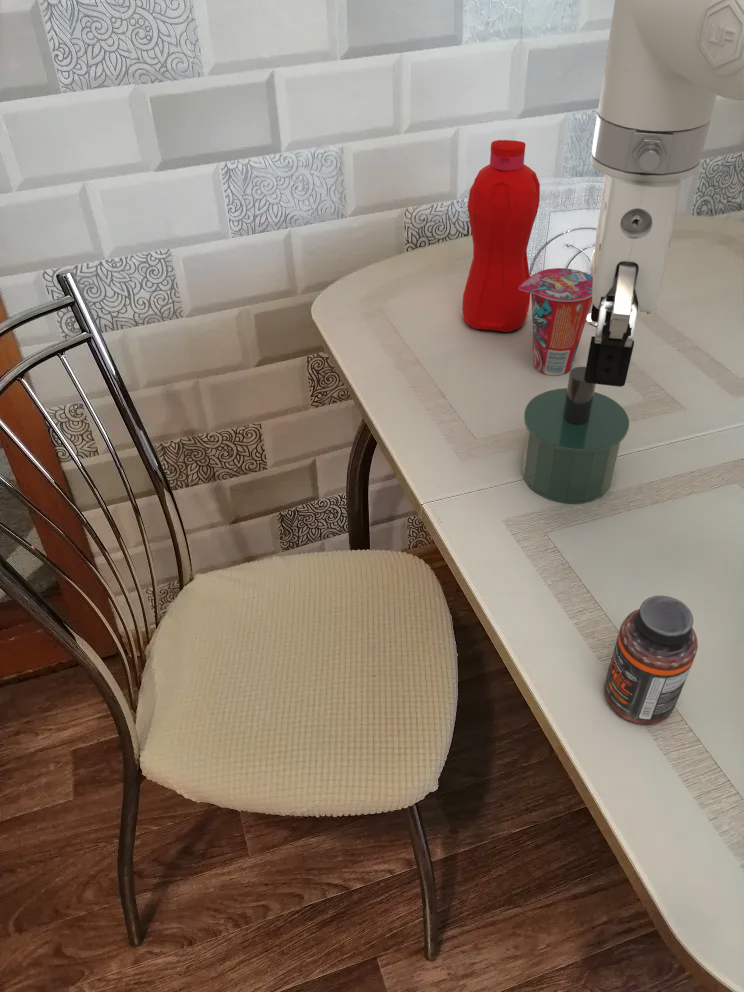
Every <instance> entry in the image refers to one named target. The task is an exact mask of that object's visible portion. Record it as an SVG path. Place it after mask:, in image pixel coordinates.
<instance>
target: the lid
mask: <svg viewBox="0 0 744 992" xmlns="http://www.w3.org/2000/svg"><path fill="white" fill-rule="evenodd" d="M585 370H586V366H575V367H572V368H571V370H570V371H569V372H568V373H569V374H568V380H567V387H563V388H556V389H551V390H547V391H544V392H542V393H539V394H538V395H536V396H534V397H533V398H531V399H530V400H529V402H528V403H527V404H526V406H525V409H524V412H523V422H524V425H525V429H526V428H527V429H528V431H529V432H530V433H531V434H532V435H533V436H534V437H535V438H536V439H537V440H539V441H540V442H542V443H544V444H546V445H548V446H550V447H553V448H556V449H559V450H563V451H567V452H575V453H593V452H599V451H603V450H606V449H609V448H612V447H614V446H615V445H617V444H618V443H620V442H621V443H622V441H623V440H624V439H625V438H626V437H627V435H628V432H629V428H630V418H629V415H628V414H627V412H626V410H625V408H623V407H622V406H621V404H619V403H618V402H617V401H615V400H613V399H612V398H611V397H610V396H609V397H608V396H607V395H605V394H602V393H599V392H596V386H597V384H592V383H587V382H585V380H584V376H585Z"/></svg>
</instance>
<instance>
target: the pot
mask: <svg viewBox="0 0 744 992" xmlns="http://www.w3.org/2000/svg"><path fill="white" fill-rule="evenodd" d="M524 436H525V437H524V443H523V444H524V445H523V452H522V460H521V461H522V462H521V470H522V471H521V474H522V478H523V480H524V482H525V484H526V485H527V486H528V487H529V488H530V489H531V490H532V491H533V492H534V493H535V494H537V495H539V496H540V497H542V498H545V499H548V500H550V501H553V502H557V503H562V504H585V503H590V502H592V501H595V500H597V499H599V498H601V497H602V496H604V495H605V494H606V493H607V492H608V491H609V490H610V488H611V485H612V483H613V479H614V475H615V471H616V465H617V461H618V457H619V453H620V452H619V451H620V448H621V443H622V441H621V442H620V443H618V444H617V445H615V446H614V447H612V448H609V449H606V450H603V451H599V452H593V453H575V452H567V451H563V450H559V449H556V448H553V447H550V446H548V445H546V444H544V443H542V442H540V441H539V440H537V439H536V438H535V437H534V436H533V435H532V434H531V433H530V432H529V431H528V429H527V428H526V427H525V435H524Z"/></svg>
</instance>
